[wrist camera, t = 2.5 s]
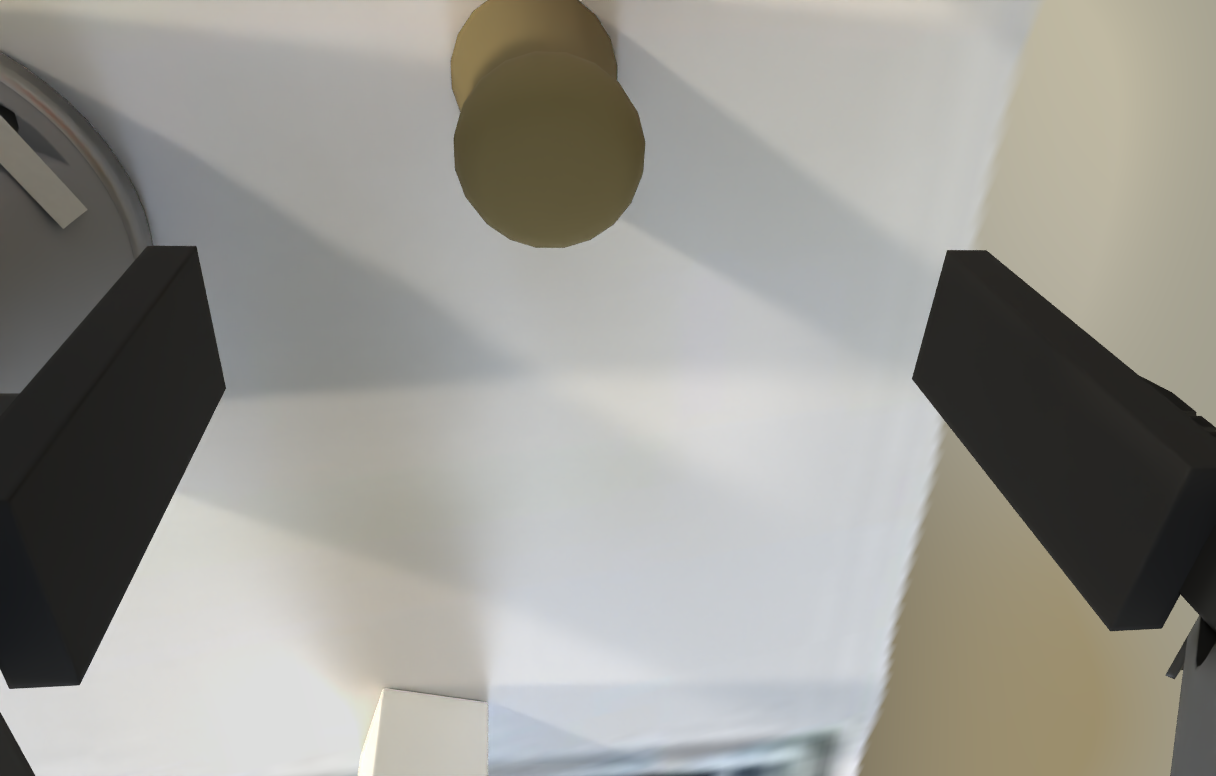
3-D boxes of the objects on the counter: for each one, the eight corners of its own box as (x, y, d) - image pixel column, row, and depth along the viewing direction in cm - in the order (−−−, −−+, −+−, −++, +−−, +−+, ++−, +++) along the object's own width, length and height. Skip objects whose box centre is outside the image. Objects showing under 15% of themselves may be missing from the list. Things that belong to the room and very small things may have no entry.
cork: (633, 5, 31) (696, 74, 21) (599, 171, 34) (641, 294, 24) (460, -32, 30) (448, 26, 20) (441, 144, 32) (422, 263, 23)
